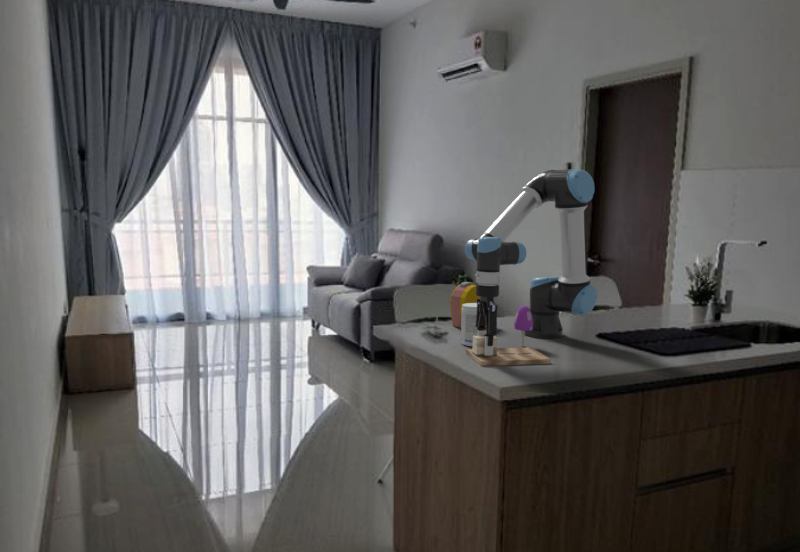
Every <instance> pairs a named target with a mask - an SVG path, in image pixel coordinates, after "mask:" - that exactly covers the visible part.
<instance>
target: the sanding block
mask: <svg viewBox="0 0 800 552" xmlns="http://www.w3.org/2000/svg"><path fill="white" fill-rule="evenodd" d="M497 348H498V337H497V336H496V335H495V336H494V345H493V355H489V356H497ZM471 349H472V353H473V354H474V355H475V356H485V355H484V353H485V336H484V335H480V336H473V346H472V348H471Z"/></svg>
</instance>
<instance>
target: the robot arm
mask: <svg viewBox="0 0 800 552" xmlns="http://www.w3.org/2000/svg"><path fill="white" fill-rule="evenodd" d="M518 194H519V195H518V196H516V197H515V199H514V200H513V201H512V202H511V203H510V204H509V205H508V207H506V209H504V210H503V212H501V213H500V215H499V216H498V217H497V218H496V219H495V220H494V221H493V222H492V224H491V225H489V226H488V228H487V229H485V231H484V232H483V233H482V234H481V235H480V236H479V237H478V238H472V239H469V240H468V241H467V242H466V243H465V245H464V253H465V256H466V257H467V259H470V260H472V261H476V273H475V274H474V276H475V277H476V279H475V281H476V283H477V284H475V285H476V295H477V296H480V297H481V298H480V299H477V313H476V325H475V326H476V327H477V330H478V336H480V335H484V336H485V353H484V355H485V356H489V355H493V345H494V336H495V337H496V336H497V335H498V323H497V322H498V318H497V317H498V313H497V312H498V305H497V304H495V302H494V300H495V299H494V298H496V297H498V296H500V286H499V284H500V279H501V277H500V275H501V266H508V265H513V266H516V265H519V264H522V263H523V262H524V261H525V259H526V258H527V248H526V246H525V245H524V244H523V243H522V242H519V241H517V242H516V241H511V242H509V241H508V242H507V241H506V240H507V239H508V238H509V237H510V236H511V235H512V233H514V231H515V230H516V229H517V228H518V227H519V226H520V225H521V224H522V222H524V221H525V219H527V217H528V216H529V215H530V214H531V213H532V211H534V210H535V209H538V208H540V207H541V206H542V205H543V204H545V203H548V202H554V208H555V210H557V211H558V213H559V227H560V228H559V230H560V231H559V232H560V256H561V257H560V260H561V276H544V277H543V276H541V277H534V278H532V279H531V280H530V286H529V287H530V288H529V307H528V308H529V309H530V311H531V313H532V317H533V329H532V330H530V331H525V332H524V336H525V335H526V336H527V337H531V338H538V339H559V338H562V337H564V335H563V334H564V330H563V326H562V322H561V318H560V312H561V313H565V314H570V315H574V316H577V315H578V316H587V315H589V314H590V313H591V312H592V310H593V309H594V308H595V306H596V303H597V300H598V290H597V288H596V287H595V286H594V285H593V284H591V278H590V277H589V276H588V274H587V272H586V271H587V270H586V244H585V243H586V242H585V210H586V209H587V208H588V206H589V202H590V201H592V199H593V197H594V194H595V182H594V178H592V176H591V174H590V173H589V171H587V170H584V169H577V168H573V169H572V168H569V169H549V170H545V171H542V172H540V173H539V174H537V175H535V176H534V177H532V178H531V179H530V180H529V181H528V182H526V183H525V185H523V186H522V187H521V188H520V190H519V193H518ZM485 326H486V327H485ZM485 330H486V331H485Z"/></svg>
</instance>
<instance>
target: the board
mask: <svg viewBox="0 0 800 552" xmlns="http://www.w3.org/2000/svg"><path fill="white" fill-rule="evenodd" d="M465 349H466V348H465ZM465 354H466V355H467V356H469V358H470V359H472V360H473V361H474V362H476V363H477V364H478V365H479V366H480V367H484V366H486V367H487V366H517V365H546V364H549V365H550V364H552V358H550V357H549V356H547V355H545V354H543V353H542V352H540V351H538V350H537V349H535V348H533V347H505V348H501V347H500V348H498V347H497V356H475V355H474V354H473V353H472V348H467V349H466V350H465Z"/></svg>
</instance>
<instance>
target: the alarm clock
mask: <svg viewBox="0 0 800 552" xmlns="http://www.w3.org/2000/svg"><path fill="white" fill-rule="evenodd" d="M476 285H477V284H476V283H474V282H471V281H462V282H461V283H460V284H458V285H457V286H456V287H455V288H454V289H453V290H452V293H451V294H450V300H449V305H450V313H451V323H452V324H451V325H452V327H456V328H460V329H461V320H462V305H463V304H466V303H477V299H480V298H481V297H480V296H477V295H476Z"/></svg>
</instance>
